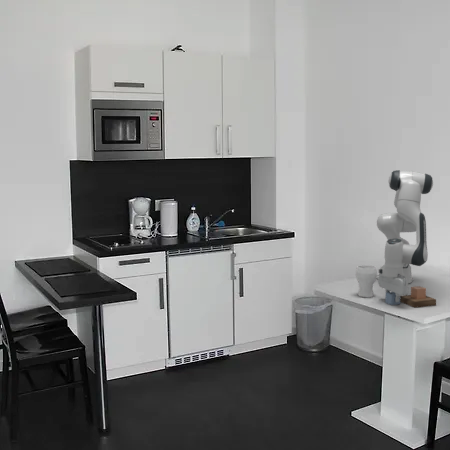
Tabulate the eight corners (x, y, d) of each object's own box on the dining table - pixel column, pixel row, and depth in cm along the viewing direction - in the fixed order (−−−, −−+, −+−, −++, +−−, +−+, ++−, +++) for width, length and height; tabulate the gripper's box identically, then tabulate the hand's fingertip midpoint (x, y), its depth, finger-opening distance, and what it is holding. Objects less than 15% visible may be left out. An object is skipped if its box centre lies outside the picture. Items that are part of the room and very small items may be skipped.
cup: (373, 299, 312) (373, 269, 310) (352, 296, 317) (353, 267, 315) (378, 294, 321) (379, 265, 319) (358, 292, 326) (359, 264, 324)
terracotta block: (410, 296, 303) (410, 286, 302) (419, 295, 305) (419, 286, 304) (416, 299, 298) (417, 289, 298) (425, 298, 300) (426, 288, 299)
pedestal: (400, 301, 306) (400, 295, 305) (420, 299, 309) (420, 293, 309) (414, 307, 294) (415, 301, 294) (436, 305, 298) (436, 299, 298)
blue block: (385, 302, 305) (385, 292, 304) (394, 301, 306) (394, 291, 306) (391, 305, 300) (391, 294, 299) (399, 304, 302) (400, 294, 301)
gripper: (411, 276, 292) (411, 304, 294) (387, 267, 311) (386, 294, 313) (400, 277, 290) (399, 305, 292) (376, 268, 309) (375, 295, 311)
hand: (392, 300), depth 303 cm, fingers closed on blue block, 5 cm apart
